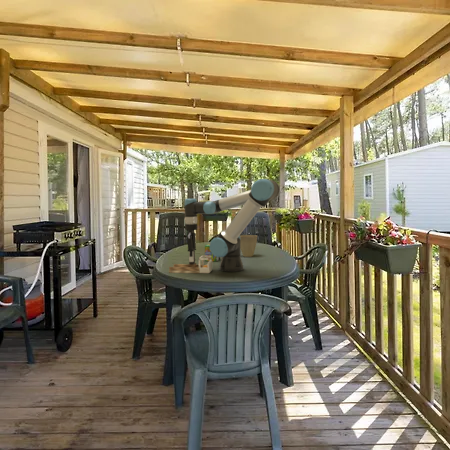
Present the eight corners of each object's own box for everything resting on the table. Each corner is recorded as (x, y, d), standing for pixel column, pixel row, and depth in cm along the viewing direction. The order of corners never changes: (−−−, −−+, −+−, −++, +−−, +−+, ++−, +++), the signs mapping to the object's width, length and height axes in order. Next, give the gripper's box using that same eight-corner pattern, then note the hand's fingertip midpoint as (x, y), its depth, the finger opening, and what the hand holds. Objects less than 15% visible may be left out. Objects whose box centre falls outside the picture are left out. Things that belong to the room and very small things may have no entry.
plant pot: (239, 254, 285) (239, 234, 284) (258, 254, 282) (258, 235, 281) (236, 257, 271) (236, 236, 269) (256, 258, 268) (256, 237, 266)
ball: (210, 265, 222) (204, 263, 222) (209, 266, 218) (202, 264, 218) (208, 271, 222) (202, 269, 223) (207, 272, 218) (201, 270, 219)
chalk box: (209, 259, 265) (208, 239, 264) (220, 259, 262) (220, 239, 261) (204, 261, 256) (204, 240, 255) (216, 261, 253) (216, 241, 252)
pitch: (203, 269, 227) (203, 264, 226) (199, 273, 215) (199, 268, 215) (174, 268, 229) (174, 263, 229) (168, 272, 218) (168, 267, 217)
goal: (212, 269, 225) (212, 255, 224) (209, 273, 215) (209, 258, 214) (202, 269, 226) (201, 255, 225) (198, 272, 216) (198, 258, 215)
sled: (196, 267, 224) (196, 248, 223) (194, 269, 218) (193, 249, 217) (190, 267, 225) (189, 248, 224) (187, 269, 219) (187, 249, 218)
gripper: (188, 222, 228) (189, 259, 230) (181, 224, 212) (183, 263, 214) (199, 222, 227) (200, 259, 229) (194, 224, 211) (195, 263, 213)
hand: (192, 261), depth 221 cm, fingers closed on sled, 3 cm apart
